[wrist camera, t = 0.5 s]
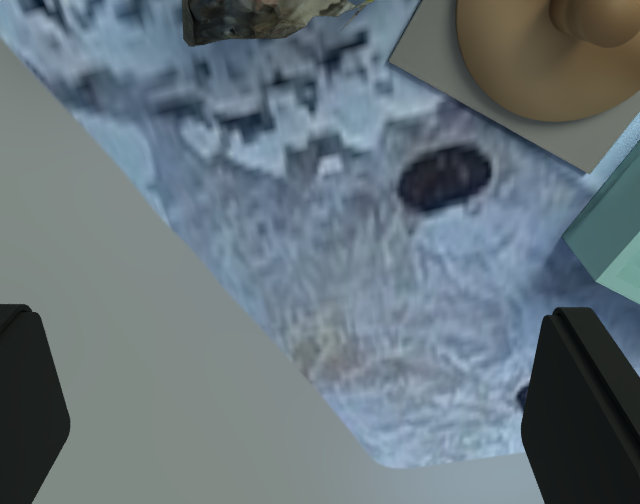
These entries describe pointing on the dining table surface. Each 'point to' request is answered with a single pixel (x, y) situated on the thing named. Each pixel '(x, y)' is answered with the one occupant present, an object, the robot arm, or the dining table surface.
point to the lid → (552, 54)
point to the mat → (456, 81)
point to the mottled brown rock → (254, 18)
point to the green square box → (612, 231)
